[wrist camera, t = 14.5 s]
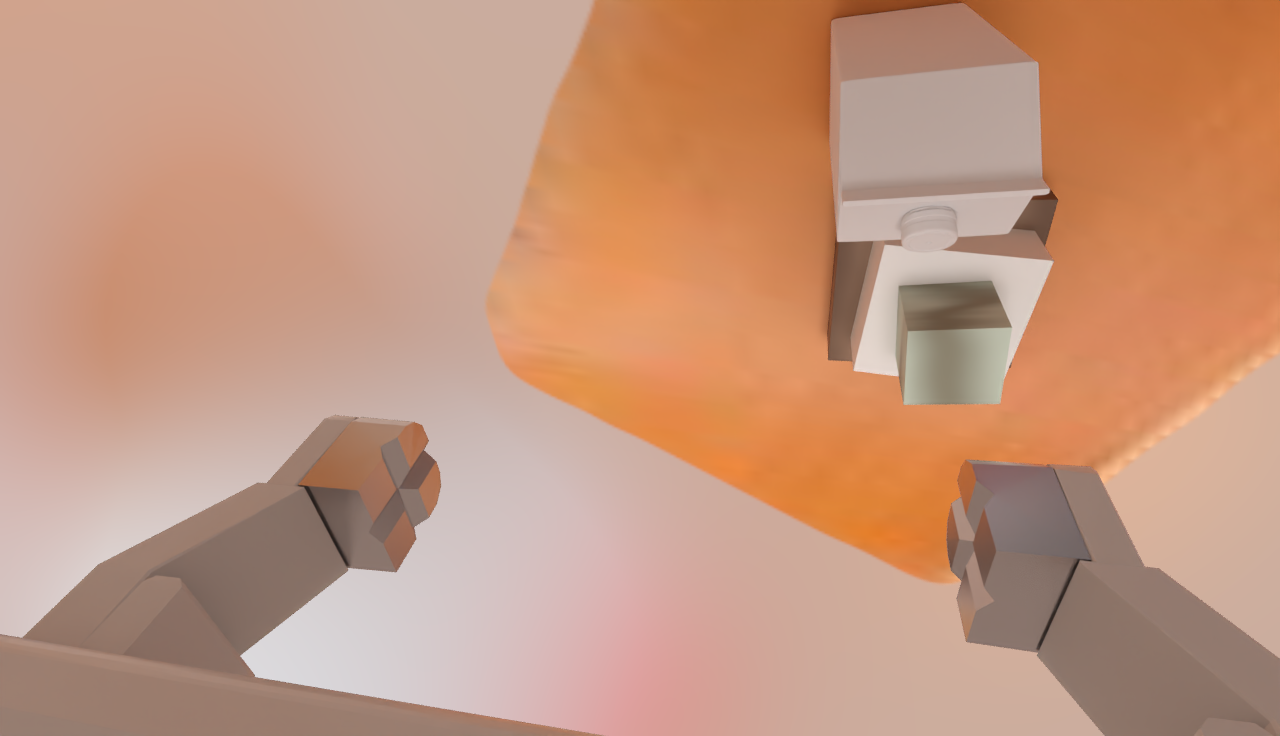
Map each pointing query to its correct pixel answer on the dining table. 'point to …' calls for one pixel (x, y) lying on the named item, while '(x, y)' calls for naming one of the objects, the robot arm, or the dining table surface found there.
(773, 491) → the dining table surface
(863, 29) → the milk carton
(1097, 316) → the dining table surface
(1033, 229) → the walnut base slab
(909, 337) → the sage cube
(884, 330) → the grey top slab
